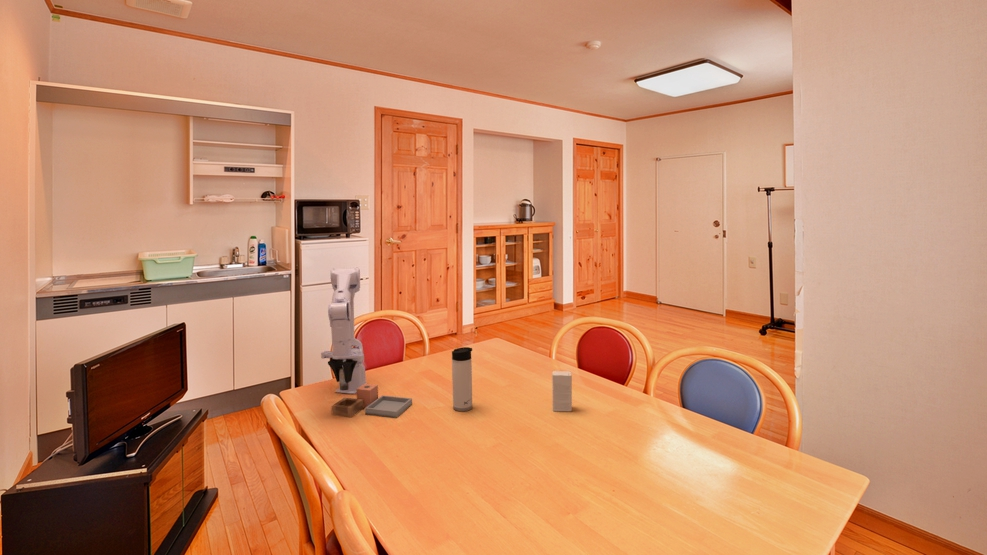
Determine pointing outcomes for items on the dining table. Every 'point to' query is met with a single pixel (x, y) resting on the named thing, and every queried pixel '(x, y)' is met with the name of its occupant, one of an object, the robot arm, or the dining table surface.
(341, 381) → the cylinder
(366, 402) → the block
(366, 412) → the tray
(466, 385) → the travel mug
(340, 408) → the brown square frame
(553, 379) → the skincare box
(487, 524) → the dining table surface
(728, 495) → the dining table surface
